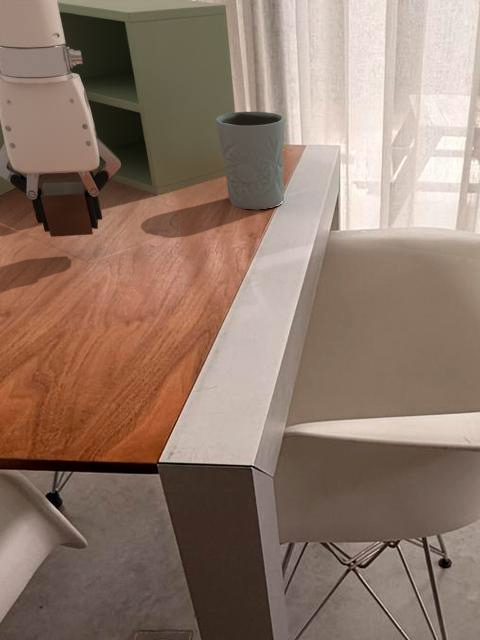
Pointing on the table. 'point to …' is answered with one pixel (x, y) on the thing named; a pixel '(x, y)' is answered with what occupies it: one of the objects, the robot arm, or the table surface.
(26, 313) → the table surface
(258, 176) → the grey green cup
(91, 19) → the cupboard
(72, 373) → the table surface
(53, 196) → the walnut block
